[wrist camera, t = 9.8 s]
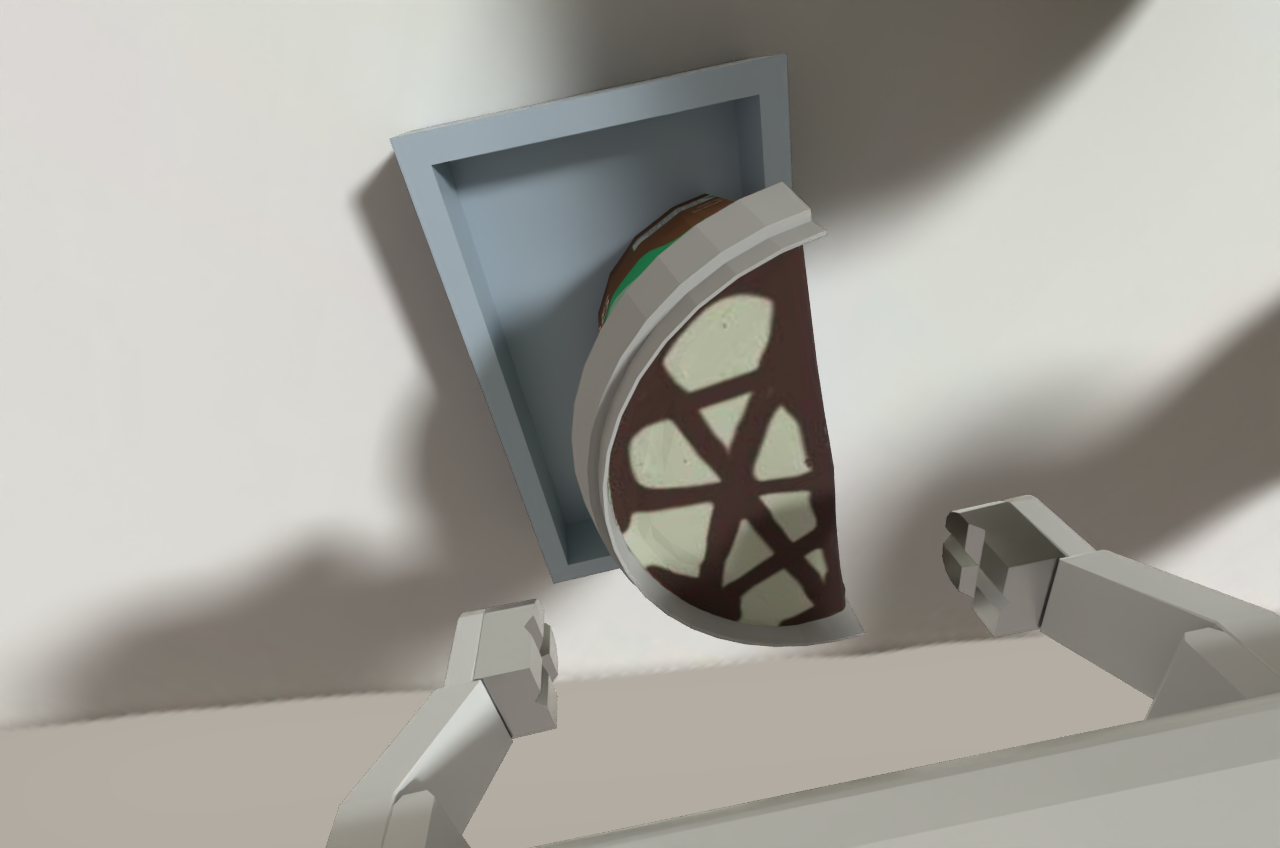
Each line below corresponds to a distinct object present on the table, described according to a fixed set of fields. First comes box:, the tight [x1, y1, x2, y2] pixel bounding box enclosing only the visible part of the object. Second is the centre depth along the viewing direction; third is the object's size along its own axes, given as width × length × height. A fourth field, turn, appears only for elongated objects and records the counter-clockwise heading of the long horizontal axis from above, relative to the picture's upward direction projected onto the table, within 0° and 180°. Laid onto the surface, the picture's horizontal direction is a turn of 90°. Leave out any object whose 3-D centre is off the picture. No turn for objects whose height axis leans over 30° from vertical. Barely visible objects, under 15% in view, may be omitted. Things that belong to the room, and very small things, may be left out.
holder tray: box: [390, 54, 792, 583], centre depth 21 cm, size 11×17×3 cm, turn 10°
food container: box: [572, 182, 865, 647], centre depth 17 cm, size 12×6×10 cm, turn 15°
